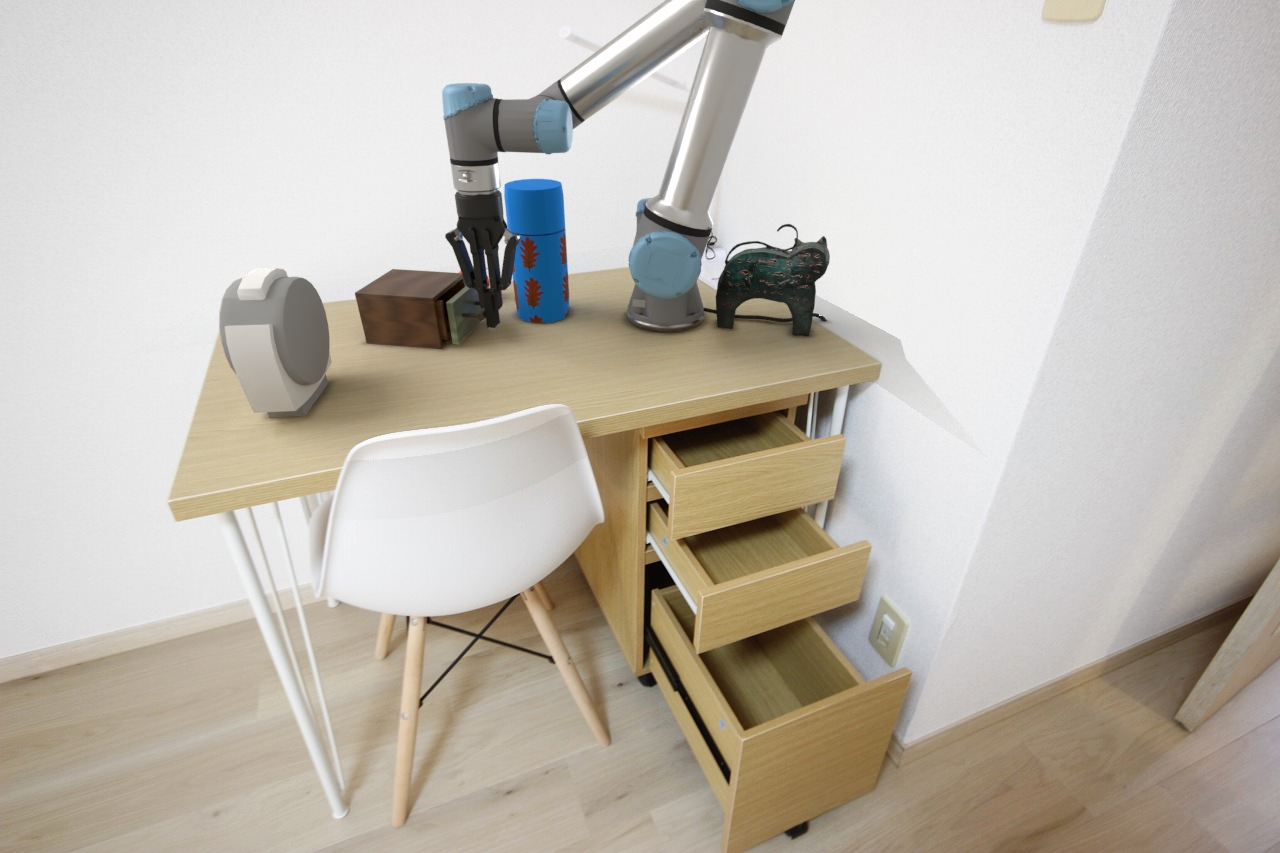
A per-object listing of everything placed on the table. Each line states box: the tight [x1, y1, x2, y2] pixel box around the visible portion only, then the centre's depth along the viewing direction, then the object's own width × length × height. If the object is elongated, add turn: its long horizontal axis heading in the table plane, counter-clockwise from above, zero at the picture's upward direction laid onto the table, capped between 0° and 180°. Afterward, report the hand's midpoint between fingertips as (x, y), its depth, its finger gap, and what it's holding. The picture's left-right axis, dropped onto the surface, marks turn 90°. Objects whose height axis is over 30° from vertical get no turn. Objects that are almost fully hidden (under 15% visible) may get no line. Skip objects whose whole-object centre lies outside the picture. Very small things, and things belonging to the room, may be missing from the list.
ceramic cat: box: [715, 223, 831, 337], centre depth 119 cm, size 20×6×20 cm, turn 77°
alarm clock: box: [218, 267, 332, 418], centre depth 95 cm, size 18×8×20 cm, turn 5°
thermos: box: [503, 178, 570, 324], centre depth 124 cm, size 11×11×25 cm
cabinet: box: [354, 268, 465, 350], centre depth 120 cm, size 15×14×10 cm
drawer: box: [435, 281, 486, 345], centre depth 119 cm, size 18×12×8 cm
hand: (493, 325), depth 118 cm, fingers closed
